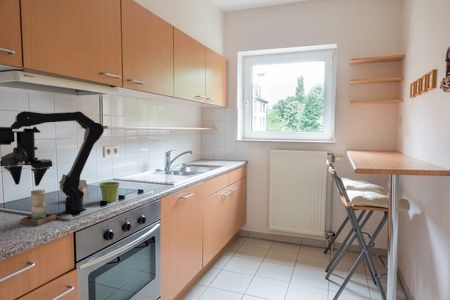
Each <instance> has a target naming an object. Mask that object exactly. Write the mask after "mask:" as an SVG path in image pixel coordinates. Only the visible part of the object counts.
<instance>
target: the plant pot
mask: <svg viewBox="0 0 450 300" xmlns="http://www.w3.org/2000/svg"><path fill="white" fill-rule="evenodd" d="M98 185H99V187H100V191H101V200H102V202H103V201H107V202H106V203H109V202H110V203H113V202H116V201H117V197H118V190H119V186H120V182H118V181H105V182H99V183H98Z"/></svg>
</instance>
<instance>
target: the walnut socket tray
mask: <svg viewBox="0 0 450 300" xmlns="http://www.w3.org/2000/svg"><path fill="white" fill-rule="evenodd" d="M19 220H20V221H19V222H20V224H21V225H28V226H37V227H39V226H42V225H45V224H47V223H49V222H53V221H55V220H57V214H53V213H46V218H43V219H41V220H32V214H31V215H28V216H24V217H22V218H20V219H19Z"/></svg>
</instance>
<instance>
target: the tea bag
mask: <svg viewBox="0 0 450 300" xmlns="http://www.w3.org/2000/svg"><path fill="white" fill-rule="evenodd" d="M78 189H79V190H81V191H82V192H83V193H84V196H83V202H84V201H88V200H89V199H90V197H89V186H88V184H87V180H86V179H80V183H79V187H78Z"/></svg>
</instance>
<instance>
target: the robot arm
mask: <svg viewBox="0 0 450 300" xmlns="http://www.w3.org/2000/svg"><path fill="white" fill-rule="evenodd" d="M14 120H15V121H14V122H13V123H12V124H10V126H0V146H11V145H12V143H15V138H16V147H13V149H12V152H10V153H7V154H5V155H3V156H1V157H0V159H1V160H0V167H2V168H3V169H4V170H7V171H8V172H9V174H10V175H11V177H12V180H13V182H14V184H15V185H20V182H21V181H20V180H21V176H22V170H23V166H31V167H32V168H31V169H30V170H31V171H32V172H33V177H34V178H33V179H34V185H35V187H39V185H40V184H41V181H42V180H43V177H44V175H45V174H46V172H47V171H48V170H49V169H50V168H52V167H53V161H52V159H48V158H47V159H46V158H41V159H39V157H36V151H37V150H38V149H39V148H38V147H37V146H35V145H36V143H35V142H36V141H35V140H36V139H35V138H36V137H35V134H36V133H37V134H39V133H41V130H39V129H38V128H37V125H41V124H46V123H59V122H76V123H77V124H79V125H80V126H81V127H82V128H83V129H84V130H85V131H84V134H83V142H82V144H81V146H80V148H79V151H78V153H77V155H76V158H75V159H74V162H73V164H72V166H71V168H70V170H69V171H68V173H67V174H65V173H63V174H62V176H61V180H60V181H59V182H58V184H59V189H60V191H61V192H62V193H63V194H65V196H66V197H65V201H64V203H65V206H64V207H65V209H64V210H63V211H62V213H66V214H74V212H73V211H74V210H79V211H80V212H79V213H81V212H83V211H86V210H87V208H84V204H83V203H84V201H83V196H84V193H83V192H82V191H81V190H79V189H78V187H79V183H80V180H81V174H82V172H83V170H84V167H85V166H86V163H87V162H88V160H89V159H88V158H89V157H90V154H91V152H92V149H93V148H94V145H95V143H97V142H98V140H99V139H100V138H101V137H102V136H103V133H104V131H105V128H104V126H103V125H102V124H101V123H99V122H95V120H93V119H92V118H90V117H89V116H87V115H85V114H84V113H83V112H82V111H80V110H79V111H71V112H70V111H69V112H68V111H67V112H52V113H51V112H47V113H45V112H44V113H43V112H34V111H28V110H26V111H25V110H24V111H20V112H18V113H17V114H16V116H15V119H14ZM32 126H33V128H29V127H32ZM27 127H28V128H27ZM21 128H23V129H22V130H20V129H21ZM13 130H14V131H13ZM18 130H19V131H18ZM15 134H16V135H15Z"/></svg>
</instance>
